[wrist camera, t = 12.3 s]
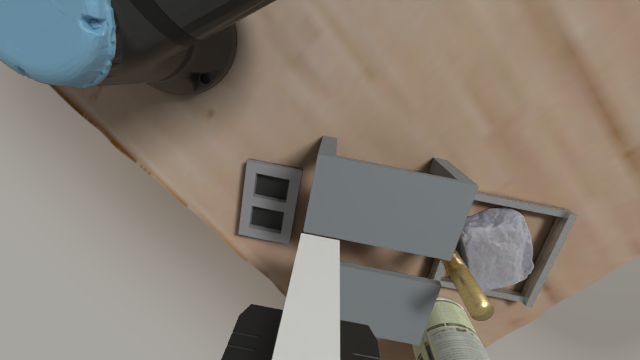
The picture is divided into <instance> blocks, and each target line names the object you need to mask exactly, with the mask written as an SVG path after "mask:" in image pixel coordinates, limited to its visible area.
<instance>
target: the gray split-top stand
mask: <svg viewBox="0 0 640 360" xmlns="http://www.w3.org/2000/svg"><path fill="white" fill-rule="evenodd" d="M336 145H337V138H332V137H327V136H323V138H322V141H321V145H320V148H319V152H318V156H317V162H316V167H315V172H314V177H313V182H312V188H311V193H310V198H309V203H308V208H307V214H306V219H305V224H304V229H303V232H307V233H312V234H317V235H322V236H327V237H332V238H337V239H342V240H347V241H353V242H358V243H363V244H368V245H373V246H378V247H383V248H388V249H393V250H398V251H403V252H408V253H413V254H418V255H423V256H428V257H433V258H438V259H443V260H448V261H451V259H452V256H453V254H454V251H455V248H456V246H457V243H458V240H459V238H460V235H461V232H462V230H463V227H464V224H465V222H466V219H467V216H468V214H469V211H470V208H471V206H472V203H473V200H474V198H475V195H476V192H477V190H478V187H479V186H478V185H477V184H476V183H474V182H473V181H472V180H471V179H469V178H468V177H467V176H466V175H464V174H463V173H462V172H461V171H460V170H458V169H457V168H456V167H455V166H453V165H452V164H451V163H450V162H449V161H447V160H443V159H438V158H433V160H432V163H431V166H430V170H429V171H430V172H431V173H432V174H433V175H432V174H427V173H421V172H416V171H411V170H406V169H401V168H396V167H391V166H386V165H381V164H376V163H371V162H366V161H361V160H356V159H351V158H346V157H341V156H336ZM440 288H441V284H440V282H439V281H438V280H433V279H428V278H423V277H418V276H413V275H408V274H403V273H398V272H392V271H387V270H382V269H377V268H372V267H367V266H362V265H357V264H352V263H347V262H342V261H340V320H344V321H349V322H354V323H360V324H365V325H368V326H369V327H370V329H371V331H372V332H373V334H374V336H375V337H378V338H383V339H388V340H393V341H398V342H403V343H408V344H413V345H418V346H419V344H420V342H421V339H422V336H423V334H424V331H425V328H426V326H427V323H428V320H429V318H430V315H431V312H432V310H433V307H434V304H435V302H436V299H437V296H438V294H439V291H440Z"/></svg>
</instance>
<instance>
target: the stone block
mask: <svg viewBox="0 0 640 360" xmlns="http://www.w3.org/2000/svg"><path fill="white" fill-rule="evenodd" d="M458 243H459V246H460V251H461V255H462V259H463V262H464V263H465V265H466V266H467V268H468V269H469V271H470V272H471V274H472V275H473V277H474V278H475V280H476V281H477V283H478V285H479V286H480V288H481V289H482V291H483V292H485V291H488V290H493V289H497V288H502V287H506V286H510V285H514V284H516V283H518V282H521V281H522V280H525V279H526V278H527V276H528V275H529V274H531V272H532V270H533V268H534V264H533V262H532V257H533V246H532V241H531V234H530V231H529V229H528V228H527V224H526V222H525V219H524V216H522V215H521V214H520V213H519V212H518V211H516V210H513V209H510V208H508V207H503V208H489V209H487V210H485V211H483V212H480V213H478V214H476V215H473V216H470V217H468V218H467V219H466V222H465V224H464V227H463V230H462V232H461V235H460V238H459V240H458Z"/></svg>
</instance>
